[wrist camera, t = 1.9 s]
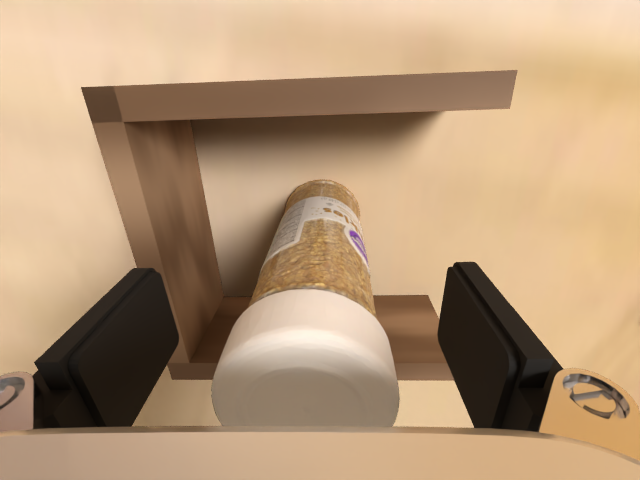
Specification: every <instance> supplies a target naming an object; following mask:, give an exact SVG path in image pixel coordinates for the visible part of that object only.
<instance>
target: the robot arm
mask: <svg viewBox="0 0 640 480" xmlns="http://www.w3.org/2000/svg"><path fill="white" fill-rule="evenodd" d="M437 336H438V342H439V345H440V347H441V350H442V352H443V354H444V357H445V359H446V362H447V364H448V366H449V369H450V371H451V373H452V376H453V378H454V380H455V383H456V385H457V388H458V390H459V392H460V395H461V397H462V399H463V402H464V404H465V407H466V409H467V411H468V414H469V416H470V418H471V421H472V423H473V425H474V428H454V427H366V426H165V427H131V426H132V424H133V423H134V421H135V419H136V417H137V416H138V414H139V412H140V410H141V409H142V407H143V405H144V403H145V402H146V400H147V398H148V396H149V395H150V393H151V391H152V389H153V388H154V386H155V384H156V383H157V381H158V379H159V377H160V376H161V374H162V372H163V370H164V369H165V367H166V365H167V363H168V362H169V360H170V358H171V356H172V355H173V353H174V351H175V349H176V348H177V346H178V343H179V333H178V330H177V327H176V323H175V320H174V316H173V313H172V310H171V306H170V303H169V299H168V296H167V293H166V289H165V286H164V282H163V279H162V276H161V274H160V273H159V272H156V270H155V269H154V268H134V269H132V270H131V271H130V272H129V273H128V274H127V275H126V276H124V277H123V278H122V279H121V280H120V281H119V282H118V283H117V284H116V285H115V286H114V287H113V288H112V289H111V290H110V291H109V292H108V293H107V294H106V295H105V296H103V297H102V298H101V299H100V300H99V301H98V302H97V303H96V304H95V305H94V306H93V307H92V308H91V309H90V310H89V311H88V312H87V313H86V314H85V315H84V316H82V317H81V318H80V319H79V320H78V321H77V322H76V323H75V324H74V325H73V326H72V327H71V328H70V329H69V330H68V331H67V332H66V333H65V334H64V335H63V336H61V337H60V338H59V339H58V340H57V341H56V342H55V343H54V344H53V345H52V346H51V347H50V348H49V349H48V350H47V351H46V352H45V353H44V354H43V355H42V356H40V357H39V358H38V359H37V360H36V361H35V362H34V363H35V365H36V367H37V368H38V371H37V372H36V373H35V374H34V375H33V376H32V375H31V374H29V373H27V372H13V373H8V374H5V375H2V376H0V480H640V412H639V408H638V405H637V404H636V403H635V401H634V400H633V398H632V397H631V396H630V395H629V394H628V393H627V392H626V391H625V390H624V389H623V388H621V387H620V386H618V385H617V384H616V383H614V382H613V381H611V380H609V379H607V378H605V377H603V376H601V375H599V374H597V373H594V372H591V371H588V370H583V369H577V368H569V369H563V368H562V367H561V365H560V364H559V363H558V362H557V361H556V359H555V358H554V357H553V356H552V355H551V353H550V352H549V351H548V350H547V348H546V347H545V346H544V345H543V344H542V342H541V341H540V340H539V339H538V337H537V336H536V335H535V334H534V333H533V331H532V330H531V329H530V328H529V326H528V325H527V324H526V323H525V322H524V320H523V319H522V318H521V317H520V315H519V314H518V313H517V312H516V311H515V309H514V308H513V307H512V306H511V305H510V304H509V303H508V301H507V300H506V299H505V298H504V297H503V295H502V294H501V293H500V292H499V290H498V289H497V288H496V287H495V286H494V284H493V283H492V282H491V281H490V279H489V278H488V277H487V276H486V274H485V273H484V272H483V271H482V270H481V268H480V267H479V266H478V265H477V264H476V263H475V262H456V263H454V265H453V267H449V268H448V270H447V276H446V282H445V288H444V295H443V301H442V307H441V313H440V320H439V326H438V333H437Z"/></svg>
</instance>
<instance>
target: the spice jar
mask: <svg viewBox="0 0 640 480" xmlns="http://www.w3.org/2000/svg"><path fill="white" fill-rule="evenodd" d="M211 391H212V395H211V396H212V402H213V406H214V410H215V413H216V415H217V417H218V419H219V421H220V423H221V424H222V426H366V427H392V426H393V424H394V422H395V420H396V417H397V413H398V408H399V388H398V382H397V377H396V371H395V366H394V361H393V356H392V352H391V348H390V344H389V340H388V337H387V335H386V333H385V331H384V329H383V328H382V326H381V325H380V323H379V321H378V320H377V316H376V311H375V307H374V298H373V295H372V290H371V284H370V270H369V265H368V260H367V255H366V249H365V243H364V237H363V232H362V227H361V224H360V211H359V206H358V203H357V201H356V199H355V197H354V195H353V194H352V193H351V192H350V191H349V190H348V189H347V188H346V187H344V186H343V185H341V184H339V183H336V182H334V181H331V180H315V181H310V182H308V183H305V184H303V185H301V186H299V187H298V188H297V189H296V190H295V191H294V192H293V193H292V194H291V196H290V198H289V199H288V201H287V204H286V208H285V214H284V216H283V217H282V219H281V221H280V224H279V226H278V229H277V231H276V234H275V236H274V239H273V241H272V244H271V247H270V249H269V251H268V254H267V256H266V259H265V261H264V264H263V266H262V268H261V271H260V274H259V277H258V282H257V285H256V288H255V290H254V293H253V296H252V299H251V301H250V304H249V306H248V308H247V309H246V310H245V311H244V312H243V313H242V315H241V316H240V317H239V318H238V320H237V321H236V323H235V324H234V326H233V328H232V330H231V333H230V335H229V337H228V340H227V342H226V345H225V347H224V349H223V352H222V354H221V357H220V360H219V362H218V365H217V368H216V371H215V374H214V377H213V382H212V389H211Z"/></svg>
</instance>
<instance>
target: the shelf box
mask: <svg viewBox="0 0 640 480" xmlns="http://www.w3.org/2000/svg"><path fill="white" fill-rule="evenodd" d="M516 75H517V70H508V71H483V72H458V73H432V74H407V75H382V76H356V77H331V78H306V79H281V80H255V81H230V82H205V83H179V84H154V85H129V86H104V87H81V89H82V92H83V96H84V99H85V102H86V105H87V108H88V112H89V115H90V118H91V121H92V124H93V128H94V131H95V134H96V137H97V140H98V144H99V147H100V150H101V153H102V156H103V160H104V163H105V166H106V169H107V172H108V176H109V179H110V182H111V185H112V188H113V192H114V195H115V198H116V201H117V204H118V208H119V211H120V214H121V217H122V220H123V224H124V227H125V230H126V233H127V237H128V240H129V243H130V246H131V249H132V253H133V256H134V259H135V262H136V265H137V268H154V269H155V270H156V272H159V273H160V274H161V276H162V279H163V282H164V286H165V289H166V293H167V296H168V299H169V303H170V306H171V310H172V313H173V316H174V320H175V323H176V327H177V330H178V333H179V343H178V346H177V348H176V349H175V351H174V353H173V355H172V356H171V358H170V360H169V362H168V363H167V365H168V368H169V371H170V374H171V377H172V380H213V377H214V374H215V371H216V368H217V365H218V362H219V360H220V357H221V354H222V352H223V349H224V347H225V345H226V342H227V340H228V337H229V335H230V333H231V330H232V328H233V326H234V324H235V323H236V321H237V320H238V318H239V317H240V316H241V315H242V313H243V312H244V311H245V310H246V309H247V308H248V306H249V304H250V301H251V299H252V297H224V295H223V290H222V285H221V279H220V274H219V269H218V264H217V258H216V253H215V248H214V243H213V237H212V232H211V227H210V222H209V217H208V211H207V206H206V201H205V196H204V190H203V185H202V180H201V175H200V169H199V164H198V159H197V154H196V149H195V143H194V138H193V133H192V128H191V122H190V120H192V119H222V118H251V117H280V116H309V115H338V114H368V113H397V112H426V111H455V110H484V109H510V105H511V100H512V95H513V90H514V85H515V80H516ZM373 298H374V307H375V311H376V316H377V320H378V321H379V323H380V325H381V326H382V328H383V329H384V331H385V333H386V335H387V337H388V340H389V344H390V348H391V352H392V356H393V361H394V366H395V371H396V377H397V380H454V378H453V376H452V373H451V371H450V369H449V366H448V364H447V362H446V359H445V357H444V354H443V352H442V350H441V347H440V345H439V342H438V336H437V333H438V326H439V318H438V316H437V314H436V312H435V310H434V307H433V305H432V303H431V301H430V299H429V297H428V295H402V296H373Z"/></svg>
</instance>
